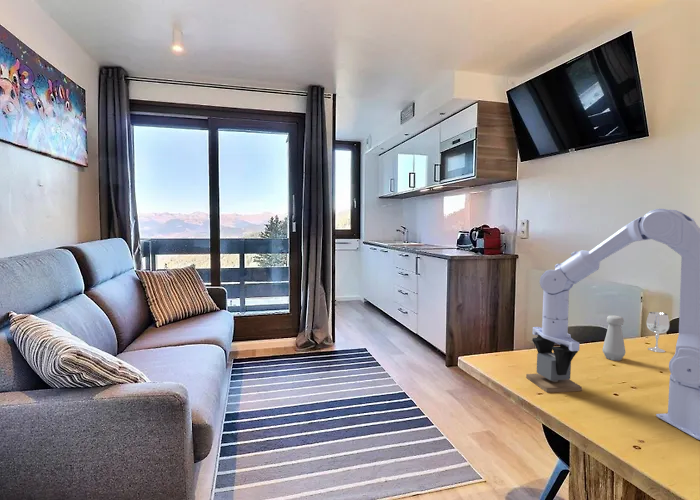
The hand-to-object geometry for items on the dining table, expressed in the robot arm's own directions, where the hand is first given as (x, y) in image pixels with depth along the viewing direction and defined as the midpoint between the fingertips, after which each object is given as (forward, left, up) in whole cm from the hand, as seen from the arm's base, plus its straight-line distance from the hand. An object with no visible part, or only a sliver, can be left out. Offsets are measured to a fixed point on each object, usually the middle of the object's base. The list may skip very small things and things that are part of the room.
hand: (553, 370), depth 98 cm
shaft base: (0, 0, -4) cm, 4 cm away
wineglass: (+22, -50, -4) cm, 55 cm away
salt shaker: (+16, -30, -4) cm, 34 cm away
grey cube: (0, 0, -1) cm, 1 cm away
